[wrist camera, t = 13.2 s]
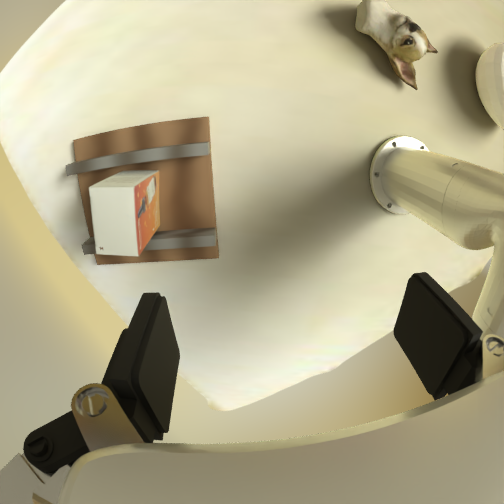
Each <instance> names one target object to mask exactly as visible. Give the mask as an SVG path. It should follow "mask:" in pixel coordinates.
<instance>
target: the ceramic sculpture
mask: <svg viewBox="0 0 504 504" xmlns="http://www.w3.org/2000/svg"><path fill="white" fill-rule="evenodd" d="M355 28H356V30H358V31H359V32H361V33H364V34H368V35H370V36H371V37H372V38H373V39H374V40H375V41H376V42H377V43H378V44H379V45H380V46H381V47H382V49H383V50H385V51H386V53H387V55H388V58H389V60H390V63H391V66H392V68H393V70H394V72H395V73H396V74H397V76H398V77H399V78H400V79H402V80H403V81H404V82H405V83H406V84H408V85H410V86H411V87H413V88H414V89H416V90H418V89H417V85H416V80H415V75H416V74H415V69H414V66H413V64H412V62H414V61H416V60H419V59H420V58H422V57H423V56H424V55H425V53H426V52H432V53H438V51H437V50H436V49H435V48H434V47H433V46H432V45H431V44H430V42H429V40H428V38H427V37H426V34H425V33H424V31H423V30H421V28H420V27H419V26H418V25H417V24H416V23H414V22H413V20H412V19H411V18H409V17H408V16H405V15H403V14H401V13H399V12H397V11H395V10H393V9H392V8H391V7H390V6H389V4H388V3H387V2H386V1H385V0H362V2H361V3H360V5H359V6H358V7H357V16H356V22H355Z"/></svg>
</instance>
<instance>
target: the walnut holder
mask: <svg viewBox="0 0 504 504" xmlns="http://www.w3.org/2000/svg"><path fill="white" fill-rule="evenodd" d="M73 141H74V151H75V159H76V162H74V163H71V164H68V165H66V172H67V176H69V175H74V174H78V180H79V186H80V192H81V197H82V203H83V208H84V213H85V217H86V222H87V226H88V231H89V235H90V238H89V239H88V240H87V241H86V242H85V243H84V244H83V245H82V248H83V252H84V255H85V254H95V258H96V262H97V265H102V264H121V263H140V262H158V261H176V260H194V259H212V258H219V250H218V239H217V228H216V216H215V203H214V190H213V176H212V161H211V145H210V126H209V117H201V118H191V119H182V120H173V121H166V122H159V123H152V124H146V125H140V126H134V127H129V128H124V129H119V130H114V131H109V132H105V133H100V134H96V135H92V136H88V137H84V138H80V139H76V140H73ZM130 170H158V171H159V208H160V226H159V228H158V229H157V230H156V232H155V233H154V235H153V236H152V238H151V239H150V241H149V242H148V244H147V245H146V246H145V248H144V249H143V251H142V252H141V254H140V255H139V256H120V255H103V254H96V248H95V238H94V230H93V222H92V213H91V203H90V194H89V187H90V186H92V185H94V184H96V183H98V182H100V181H102V180H104V179H106V178H108V177H111V176H113V175H115V174H117V173H119V172H122V171H130Z"/></svg>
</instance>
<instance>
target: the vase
mask: <svg viewBox="0 0 504 504" xmlns="http://www.w3.org/2000/svg"><path fill="white" fill-rule="evenodd" d="M476 85H477V90H478V94H479V97H480V99H481V102H482V104H483V106H484V108H485V110H486V111H487V113H488V114H489V115H490V117H491V118H492V119H493V120H494V122H495V123H496V124H497V125H498V126H499V127H501V128H502V129H503V130H504V43H495V44H493V45H492V46H490V47H489V48H488V49H487V50H486V51H484V52H483V53H482V55H481V57H480V59H479V61H478V64H477V67H476Z"/></svg>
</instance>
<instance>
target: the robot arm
mask: <svg viewBox="0 0 504 504" xmlns="http://www.w3.org/2000/svg"><path fill="white" fill-rule="evenodd" d="M375 173H376V174H375ZM374 174H375V175H374ZM370 185H371V189H372V192H373V194H374V197H375V198H376V200H377V201H378V203H379V204H380V205H381V206H382V207H384V208H385V209H386V210H388V211H390V212H392V213H395V214H409V213H411V214H413V215H415V216H416V217H418V218H419V219H421V220H422V221H424V222H425V223H427V224H428V225H430V226H431V227H433V228H434V229H436V230H437V231H439V232H440V233H442V234H443V235H445V236H446V237H448V238H449V239H450V240H452V241H454V242H455V243H456V244H458V245H459V246H461V247H463V248H466V249H469V250H481V249H486V248H489V247H492V246H494V253H493V257H492V260H491V266H490V269H489V272H488V275H487V278H486V281H485V284H484V286H483V289H482V292H481V294H480V297H479V300H478V302H477V305H476V308H475V310H474V313H473V316H472V318H470V316H469V315H468V314H467V313H466V312H465V311H464V310H463V309H462V308H461V307H460V305H459V304H458V303H457V302H456V301H455V300H454V299H453V298H452V297H451V296H450V295H449V294H448V293H447V292H446V291H445V290H444V289H443V288H442V287H441V286H440V285H439V284H438V283H437V282H436V281H435V280H434V279H433V278H432V277H431V276H430V275H429V274H428V273H426V272H422V273H414V274H413V275H412V276H411V278H409V280H408V283H407V287H406V291H405V294H404V298H403V301H402V305H401V308H400V311H399V315H398V318H397V321H396V324H395V327H394V336H395V338H396V340H397V341H398V343H399V344H400V346H401V348H402V349H403V351H404V353H405V354H406V356H407V357H408V359H409V360H410V362H411V364H412V366H413V367H414V369H415V370H416V373H417V374H418V376H419V378H420V379H421V381H422V383H423V385H424V386H425V388H426V390H427V392H428V393H429V394H431V395H432V396H433V398H434V400H437V399H439V400H437V401H434V402H431V403H429V404H426V405H423V406H421V407H418V408H415V409H412V410H409V411H406V412H403V413H400V414H397V415H394V416H391V417H387V418H384V419H381V420H377V421H374V422H370V423H366V424H362V425H358V426H354V427H350V428H345V429H341V430H336V431H331V432H326V433H320V434H315V435H309V436H302V437H296V438H289V439H281V440H270V441H261V442H260V441H259V442H245V443H226V444H225V443H223V444H184V443H176V444H175V443H153V440H163V433H167V432H168V431H169V424H170V417H171V410H172V403H173V396H174V390H175V384H176V377H177V371H178V365H179V359H180V353H179V348H178V344H177V341H176V337H175V333H174V329H173V326H172V322H171V318H170V314H169V310H168V306H167V301H166V298H165V297H164V296H163V297H161V295H160V293H143V295H142V297H141V299H140V301H139V304H138V306H137V308H136V311H135V313H134V315H133V318H132V320H131V322H130V325H129V327H128V329H124V330H123V331H122V334H121V335H120V338H119V340H118V343H117V345H116V347H115V350H114V352H113V355H112V357H111V360H110V362H109V365H108V368H107V370H106V373H105V375H104V378H103V381H102V383H101V384H98V383H93V384H88V385H85V386H83V387H82V388H80V389H79V390H78V391H77V392H76V393H75V394H74V396H73V398H72V402H71V408H72V411H70V412H68V413H66V414H64V415H62V416H61V417H59V418H57V419H55V420H53V421H51V422H49V423H48V424H46V425H44V426H42V427H40V428H38V429H36V430H34V431H33V432H31V433H30V434H29V435H28V437H27V438H26V439H25V442H24V449H23V450H24V453H23V454H22V455H21V454H19V453H18V454H17V455H16V456H15V457H14V458H13V459H12V460H11V461H10V462H9V463H8V464H7V465H6V466H5V467H4V468H3V469H2V470H1V471H0V504H504V174H503V173H500V172H497V171H493V170H490V169H487V168H484V167H481V166H478V165H475V164H472V163H469V162H466V161H462V160H459V159H456V158H452V157H449V156H445V155H442V154H438V153H434V152H430V151H429V150H428V149H427V147H426V146H425V145H424V144H423V143H422V142H421V141H419V140H417V139H416V138H413V137H409V136H396V137H393V138H390V139H389V140H387V141H385V142H384V143H383V144H382V145H381V146H380V147H379V149H378V150H377V152H376V153H375V155H374V157H373V160H372V163H371V167H370ZM447 393H448V396H446V397H445V395H446V394H447ZM442 397H443V398H442ZM440 398H441V399H440Z"/></svg>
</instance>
